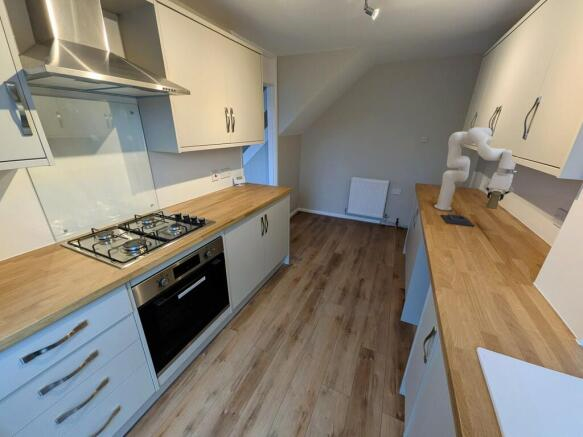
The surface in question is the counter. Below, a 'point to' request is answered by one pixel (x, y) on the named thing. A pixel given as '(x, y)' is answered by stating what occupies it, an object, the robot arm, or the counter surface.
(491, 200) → the olive green tapered piece
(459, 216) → the pad
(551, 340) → the counter surface
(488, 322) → the counter surface
